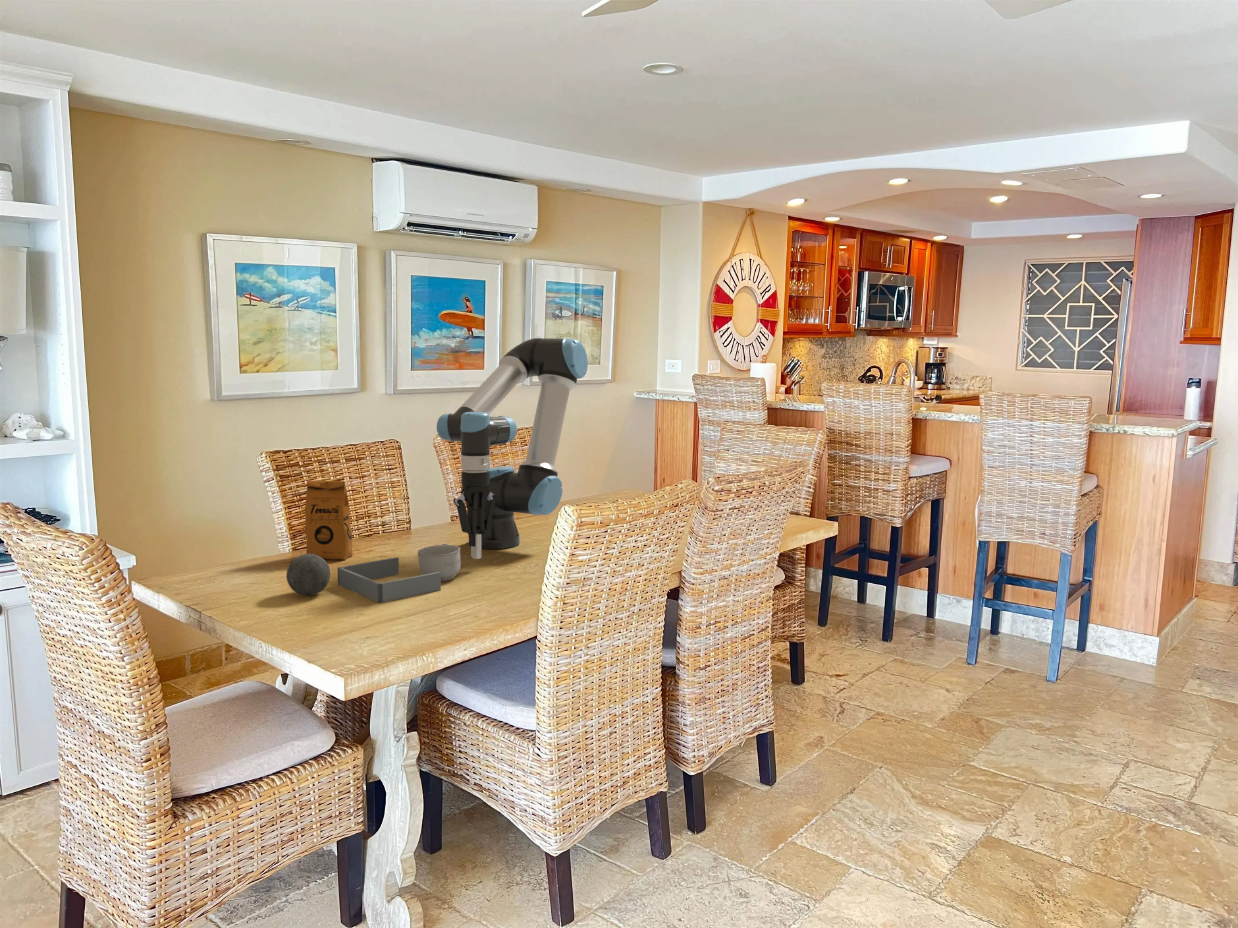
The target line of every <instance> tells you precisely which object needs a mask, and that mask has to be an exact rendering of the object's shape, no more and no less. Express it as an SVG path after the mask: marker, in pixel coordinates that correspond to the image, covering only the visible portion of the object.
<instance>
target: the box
mask: <svg viewBox="0 0 1238 928" xmlns="http://www.w3.org/2000/svg"><path fill="white" fill-rule="evenodd" d="M399 561H400V559H399V556H396V557H395V556H394V557H391V558H389V557H388V558H384V559H383V558H382V559H379V560H373V561H367V562H362V563H355V564H352V565H351V564H349V565H345V566H340V567H339V566H338V567H337V586H340V587H342V588H343V589H347V590H349V591H350V592H354V593H355V594H358V595H360V596H362V597H364V598H365V597H366V598H367V599H370V600H372V601H374V602H377V603H379V604H381V603H386V602H390V601H395V600H401V599H405V598H410V597H414V596H420V595H423V594H429V593H433V592H439V591H441V587H442V586H441V584H442V583H441V582H442V581H441V574H440V572H435V573H430V574H425V575H422V574H421V575H415V576H411V577H410V576H409V577H405V578H400V579H394V580H390V581H385V582H378V581H376V579H383V578H387V577H393V576H398V575H399V574H400V567H399V566H400V565H399V563H400V562H399Z"/></svg>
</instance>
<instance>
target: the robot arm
mask: <svg viewBox="0 0 1238 928" xmlns="http://www.w3.org/2000/svg"><path fill="white" fill-rule="evenodd" d="M588 362H589V361H588V354H587V351H586V349H585V346H584V344H583V343H582V342H581V341H579V340H578V339H573V338H568V337H564V338H549V337H548V338H541V337H534V338H530V339H528V340H527V339H526V340H524V341H523V342H521V343H519V344H517V345H515V347H513V348H511V349H510V350H509V351H508V352H506V354H505V355H503V356H502V357H501V358H500V360H499V362H498V367H497V368H495V370H494V371H493V372H492V373H491V374H490V375H488V377H487V378H486V379H485V380H484V381H483V382H482V383H481V384H480V386H479V387H478V388H476V390H475V391H474V392H473V393H472V394H471V395H470V396H469V397H468V398H467V399H466V400H465V401H464V403H462V404H461V406H460V407H459V408H458V409H457V410H455V412H454V413H444V414H441V415H440V416H439V417H438V419H437V422H436V432H437V435H438V436H439V438H440V440H441V439H442V440H443V441H449V442H455V443H458V442H460V444H461V445H460V446H461V447H460V450H461V451H460V469H461V470H462V471H461V473H460V474H461V476H460V478H461V481H460V482H461V486H462V489H461V491H460V495H459V496H458V497H457V498H456V497H454V498H453V500H452V501H453V504H454V505H455V506H456V510H457V511H456V512H457V514H458V519H459V524H460V528H461V532H462V533H465V534H467V535H468V546H469V547H470V558H473V559H475V560H476V559H477V560H479V559H482V549H483V550H499V549H509V548H510V549H511V548H514V547H517V546H518V545H520V543H521V541H520V540H521V539H520V538H521V536H520V533H519V530H518V527H517V523H516V521H515V513H521V514H529V515H532V516H547V515H550V514H552V513H553V512H554V511H555V510H556V509H557V508H558V506H559V504H560V502H561V500H562V496H563V482H562V480H561V479H560V478H559V477H558V476H559V472H558V471H557V469H556V467H555V463H556V458H557V455H558V449H559V444H560V440H561V435H562V430H563V424H564V420H565V417H566V416H565V415H566V411H567V404H568V400H569V396H570V391H571V390H572V389H574V388H575V387H576V386H577V381H578V380H579V379H582V378H583V377H585V376H586V374H587V371H588V365H589V363H588ZM531 377H537V379H538V381H539V382H540V383H541V387H540V392H539V396H538V399H537V400H538V402H537V406H536V409H535V415H534V419H533V420H534V421H533V425H532V427H531V428H532V429H531V434H530V439H529V443H528V448H527V453H526V457H525V460H524V461H523V462H522V463H520V464H519V465H518V468H517V469H518V471H517V472H515V468H514V467H513V466H497V467H491V461H490V460H491V458H490V456H491V453H490V451H491V450H490V449H491V448H490V447H491V446H498V445H505V444H508V443H510V442H512V441H513V440H514V439H515V438H516V437H517V434H518V426H517V423H516V422H515V420H514V419H513V418H511V417H510V416H507V415H499V416H490V414H492V412H493V411H494V410H495V409H496V408H497V407H498V405H499V404H501V402H502V401H503V400H504V399H505V398H506V397H507V396H508V394H510V393H511V391H512V390H513V389H514V388H515V387H516V386H517V385H518V384H522V383H524V382H525V381H526V380H527V379H528V378H531Z"/></svg>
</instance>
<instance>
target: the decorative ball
mask: <svg viewBox="0 0 1238 928" xmlns="http://www.w3.org/2000/svg"><path fill="white" fill-rule="evenodd" d="M330 579H331V569H330V566H329V564H328V563H327V561H326V559H323V558H321V557H320V556H318V555H315V554H307V553H305V554H304V553H303V554H301V555H299V556H296V557H295V558H294V559H293V560H292V561H291V562H290V564H289V565H288V567H287V570H286V581H287V584H288V586H289V588H290V589H291V590H292V591H293V592H294V593H297V594H299V595H302V596H306V597H307V596H315V595H317V594H318V593H320V592H322V591H323V590H325V588H326V587H327V585H328V584H329V581H330Z"/></svg>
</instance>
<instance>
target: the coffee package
mask: <svg viewBox="0 0 1238 928" xmlns="http://www.w3.org/2000/svg"><path fill="white" fill-rule="evenodd" d="M304 505H305V506H304V517H305V522H304V523H305V532H306V533H305V536H306V554H315V555H318V556H320V557H321V558H323V559H324V560H333V561H335V560H336V561H337V560H342V561H346V560H347V559H349V558H350V557H352V556H353V554H354V553H353V531H352V525H351V524H352V523H351V510H350V509H351V508H350V505H349V498H348V490H347V487H346V482H345V481H344V480H314V479H313V480H311V479H309V480H306V494H305V504H304Z"/></svg>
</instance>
